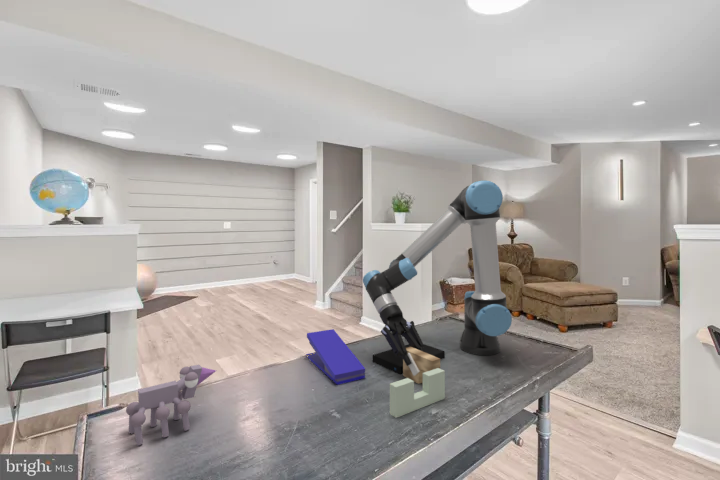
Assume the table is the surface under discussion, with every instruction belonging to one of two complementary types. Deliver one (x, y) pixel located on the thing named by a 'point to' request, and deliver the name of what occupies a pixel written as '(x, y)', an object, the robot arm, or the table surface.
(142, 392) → the grey toy animal figure
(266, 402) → the table surface
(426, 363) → the tan wooden block
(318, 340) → the blue foot pedal
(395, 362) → the external hard drive
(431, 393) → the green u-shaped block
